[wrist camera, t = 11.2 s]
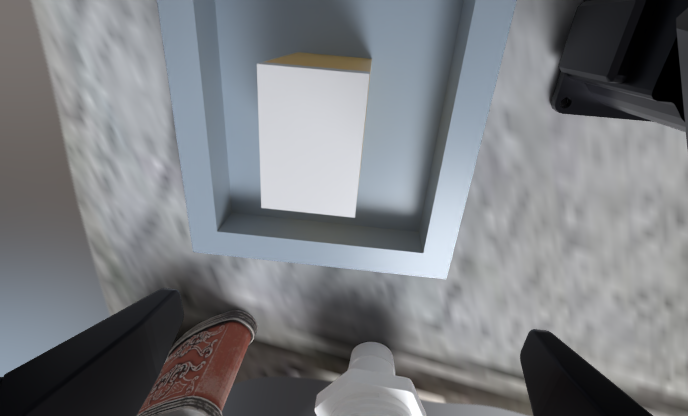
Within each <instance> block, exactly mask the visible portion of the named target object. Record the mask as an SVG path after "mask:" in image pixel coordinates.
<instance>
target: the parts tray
mask: <svg viewBox="0 0 688 416" xmlns="http://www.w3.org/2000/svg"><path fill="white" fill-rule="evenodd" d="M516 1H517V0H157V4H158V11H159V18H160V25H161V32H162V39H163V46H164V53H165V60H166V67H167V74H168V81H169V88H170V95H171V102H172V109H173V116H174V123H175V130H176V137H177V144H178V151H179V158H180V165H181V172H182V179H183V186H184V193H185V200H186V207H187V213H188V220H189V227H190V234H191V241H192V248H193V252H197V253H207V254H216V255H225V256H235V257H244V258H253V259H263V260H272V261H281V262H290V263H300V264H309V265H318V266H328V267H337V268H346V269H355V270H365V271H374V272H383V273H393V274H402V275H411V276H421V277H430V278H439V279H447V275H448V271H449V267H450V263H451V259H452V255H453V251H454V247H455V243H456V239H457V235H458V231H459V228H460V224H461V220H462V216H463V212H464V208H465V204H466V200H467V196H468V192H469V188H470V184H471V180H472V176H473V172H474V168H475V164H476V160H477V156H478V152H479V148H480V144H481V140H482V136H483V132H484V128H485V124H486V120H487V116H488V112H489V109H490V105H491V101H492V97H493V93H494V89H495V85H496V81H497V77H498V73H499V69H500V65H501V61H502V57H503V53H504V49H505V45H506V41H507V37H508V33H509V29H510V25H511V21H512V17H513V13H514V9H515V5H516ZM297 52H302V53H313V54H324V55H335V56H346V57H358V58H369V59H372V63H371V73H370V82H369V92H368V101H367V111H366V121H365V130H364V140H363V150H362V159H361V168H360V177H359V186H358V195H357V203H356V212H355V218H353V217H343V216H334V215H324V214H315V213H305V212H296V211H287V210H277V209H268V208H261V182H260V150H259V119H258V87H257V64H258V63H261V62H265V61H269V60H272V59H276V58H279V57H283V56H286V55H290V54H293V53H297Z"/></svg>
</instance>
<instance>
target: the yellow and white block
mask: <svg viewBox="0 0 688 416" xmlns="http://www.w3.org/2000/svg"><path fill="white" fill-rule="evenodd" d="M371 63H372V59H369V58H358V57H346V56H335V55H324V54H313V53H302V52H297V53H293V54H290V55H286V56H283V57H279V58H276V59H272V60H269V61H265V62H261V63H258V64H257V87H258V119H259V150H260V182H261V208H268V209H277V210H287V211H296V212H305V213H315V214H324V215H334V216H343V217H353V218H355V212H356V203H357V195H358V186H359V177H360V168H361V159H362V150H363V140H364V130H365V121H366V111H367V101H368V92H369V82H370V73H371Z"/></svg>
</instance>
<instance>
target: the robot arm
mask: <svg viewBox="0 0 688 416" xmlns="http://www.w3.org/2000/svg"><path fill="white" fill-rule="evenodd" d="M559 68H560V70H561V73H560V77H559V80H558V83H557V86H556V89H555V92H554V95H553V98H552V102H551V106H552V108H553V109H554V110H555V111H557V112H559V113H563V114H574V115H585V116H597V117H608V118H619V119H631V120H642V121H653V122H657V123H660V124H663V125H666V126H669V127H672V128H675V129H678V130H681V131H684V132H686V137H687V148H688V0H584V3H582V4H581V5H580V6H579V7H578V8H577V10H576V14H575V17H574V20H573V23H572V26H571V29H570V32H569V35H568V38H567V42H566V45H565V48H564V51H563V54H562V57H561V60H560V63H559ZM564 98H567V99H568V102H567V104H566V105H564V106H562V107H561V106H560V102H561V101H562V99H564ZM183 315H184V314H183V307H182V302H181V296H180V292H179V291H178V290H176V289H167V288H162V289H160V290H158V291H156V292H154V293H152V294H150V295H149V296H147V297H145V298H143V299H141V300H140V301H138V302H136V303H134V304H132V305H130V306H129V307H127V308H125V309H123V310H121V311H119V312H118V313H116V314H114V315H112V316H110V317H109V318H107V319H105V320H103V321H101V322H99V323H98V324H96V325H94V326H92V327H90V328H89V329H87V330H85V331H83V332H81V333H79V334H78V335H76V336H74V337H72V338H70V339H69V340H67V341H65V342H63V343H61V344H59V345H58V346H56V347H54V348H52V349H50V350H48V351H47V352H45V353H43V354H41V355H39V356H37V357H36V358H34V359H32V360H30V361H29V362H27V363H25V364H23V365H21V366H20V367H17V368H16V369H14V370H12V371H10V372H8V373H6V374H5V375H4V377H0V416H137V414H138V413H139V411H140V409H141V407H142V406H143V404H144V402H145V400H146V398H147V397H148V395H149V393H150V391H151V390H152V388H153V386H154V384H155V382H156V380H157V378H158V376H159V374H160V372H161V370H162V368H163V365H164V363H165V361H166V358H167V356H168V354H169V352H170V349H171V347H172V345H173V342H174V340H175V338H176V335H177V333H178V331H179V329H180V326H181V324H182V321H183ZM520 361H521V365H522V370H523V374H524V378H525V382H526V387H527V391H528V395H529V399H530V404H531V408H532V412H533V416H653V415H652V414H650V413H649V412H648V411H647V410H646V409H644V408H643V407H642V406H641V405H639V404H638V403H637V402H636V401H634V400H633V399H632V398H631V397H630V396H628V395H627V394H626V393H625V392H623V391H622V390H621V389H620V388H619V387H617V386H616V385H615V384H614V383H612V382H611V381H610V380H609V379H608V378H606V377H605V376H604V375H603V374H601V373H600V372H599V371H598V370H597V369H595V368H594V367H593V366H592V365H590V364H589V363H588V362H587V361H585V360H584V359H583V358H582V357H581V356H579V355H578V354H577V353H576V352H574V351H573V350H572V349H571V348H570V347H568V346H567V345H566V344H565V343H563V342H562V341H561V340H560V339H559V338H557V337H556V336H555V335H554V334H552V333H551V332H549V331H546V330H537V329H533V330H531V331H530V332H529V333H528V336H527V338H526V340H525V343H524V345H523V348H522V350H521V354H520Z"/></svg>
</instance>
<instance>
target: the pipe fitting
mask: <svg viewBox="0 0 688 416" xmlns="http://www.w3.org/2000/svg"><path fill="white" fill-rule="evenodd" d="M315 413H316V414H317V416H426V412H425V410H424V408H423V406H422V403H421V401H420V399H419V396H418V394H417V392H416V390H415V387H414V385H413V383H412V381H411V380H410V379H409V378H406V377H400V376H395V366H394V361H393V355H392V353H391V351H390V350H389V348H387V347H386V346H385V345H383V344H381V343H377V342H365V343H361V344H359V345H357V346H356V347H355V348H354V349H353V351H352V353H351V358H350V363H349V368H348V371H347V372H345V373H344V374H343V375H342V376H340V377H339V378H338V379H336V380H335V381H334V382H333V383H331V384H330V385H329V386H328V387H326V388H325V389H324V390H322V391H321V392H320V393H319V394H318V395H317V398H316V405H315Z"/></svg>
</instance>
